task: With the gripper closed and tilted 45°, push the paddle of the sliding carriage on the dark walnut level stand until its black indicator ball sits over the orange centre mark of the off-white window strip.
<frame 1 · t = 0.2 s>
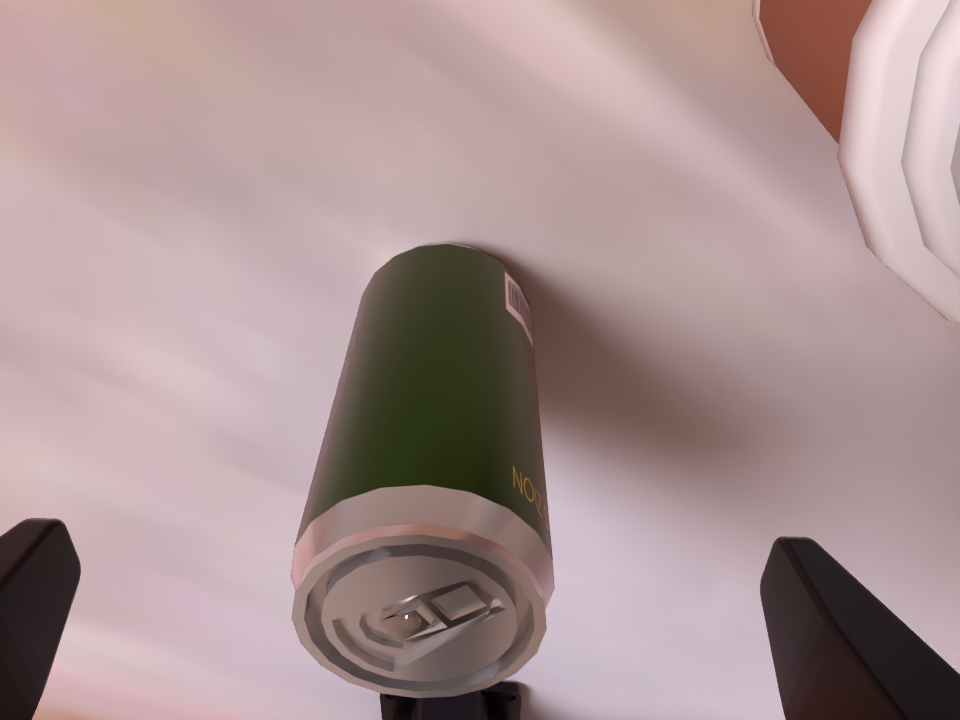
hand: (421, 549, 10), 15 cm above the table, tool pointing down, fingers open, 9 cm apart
beer can: (446, 306, 25), on the table
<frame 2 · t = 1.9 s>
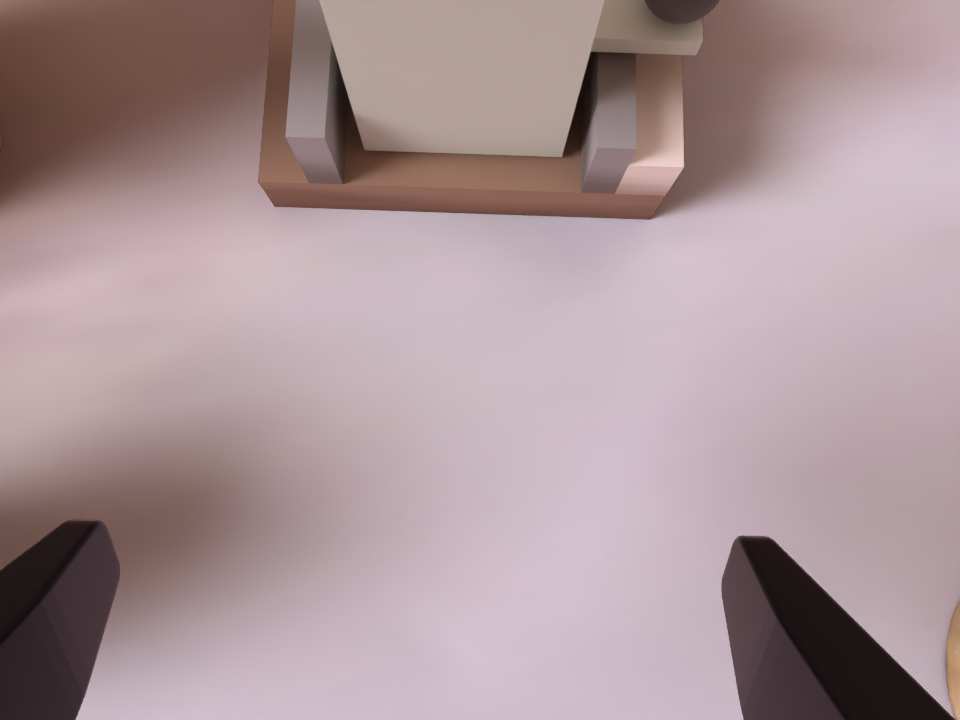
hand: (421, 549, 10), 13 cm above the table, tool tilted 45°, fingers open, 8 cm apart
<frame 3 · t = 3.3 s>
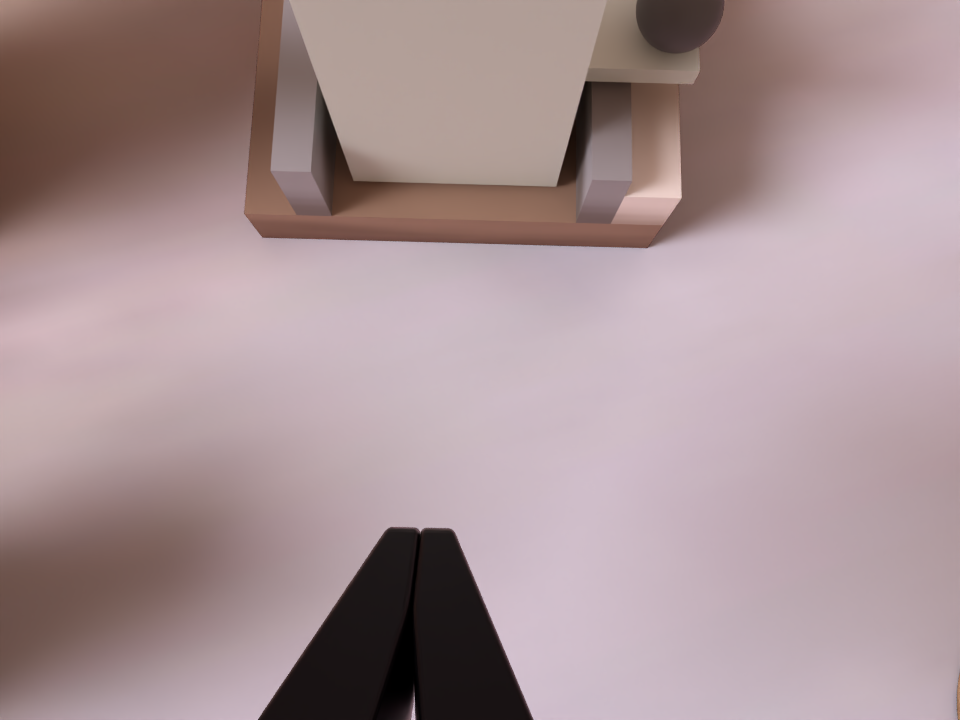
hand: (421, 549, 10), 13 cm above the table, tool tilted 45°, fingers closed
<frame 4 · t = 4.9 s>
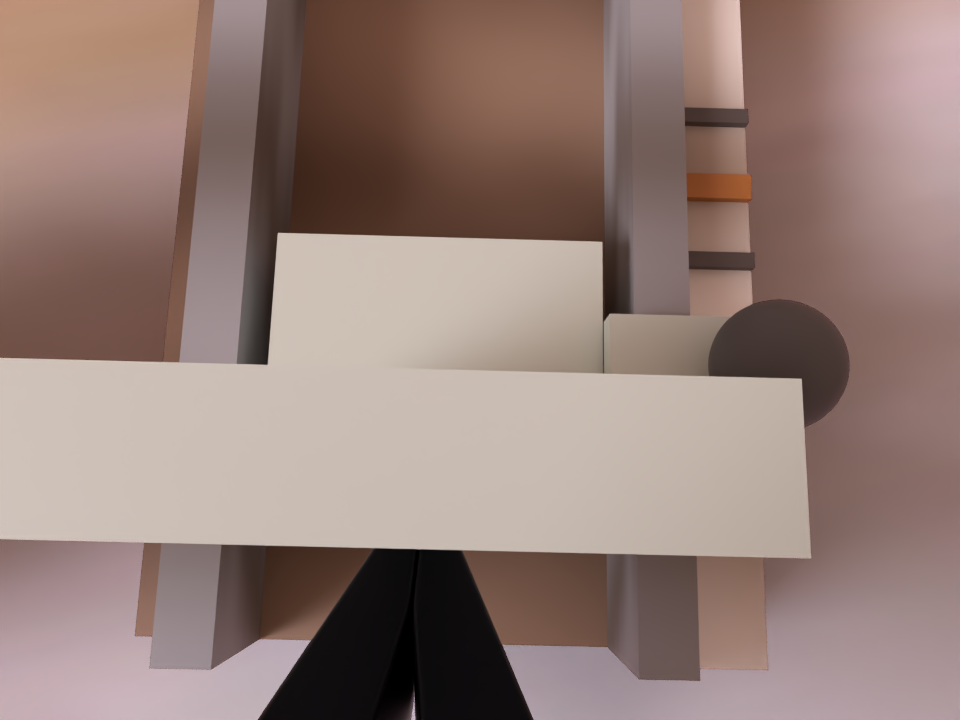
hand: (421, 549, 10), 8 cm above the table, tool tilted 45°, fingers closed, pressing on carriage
level stand: (450, 248, 19), on the table
carriage: (546, 348, 11), point 8 cm above the table, slide at 1.4 cm, touching gripper
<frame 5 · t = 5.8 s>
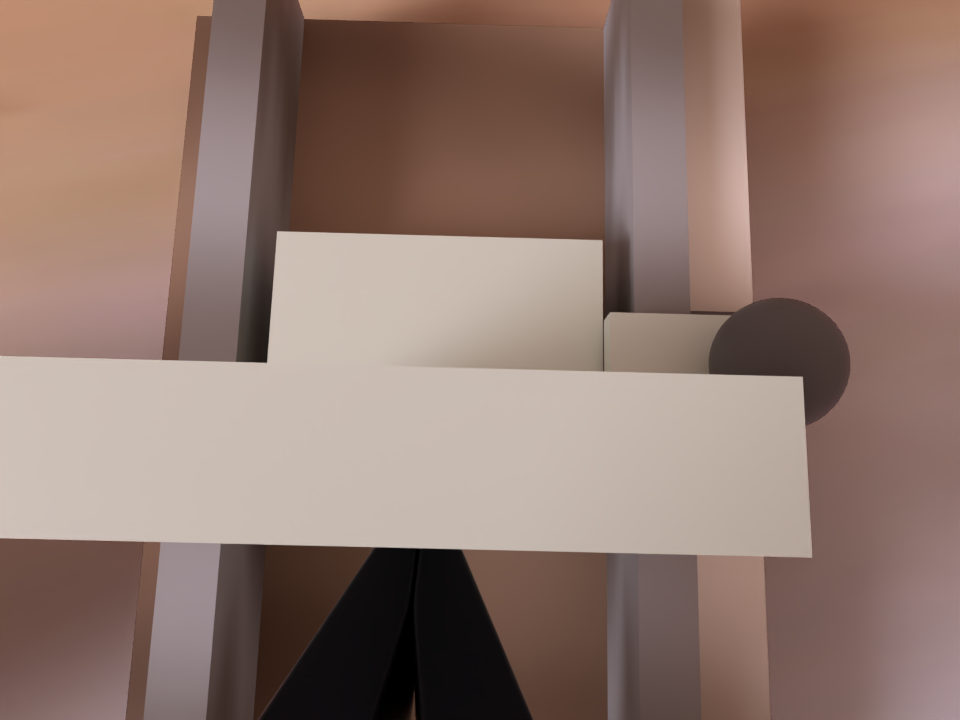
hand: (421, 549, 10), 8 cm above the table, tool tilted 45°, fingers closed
level stand: (444, 416, 18), on the table
carriage: (546, 347, 11), point 8 cm above the table, slide at 5.6 cm
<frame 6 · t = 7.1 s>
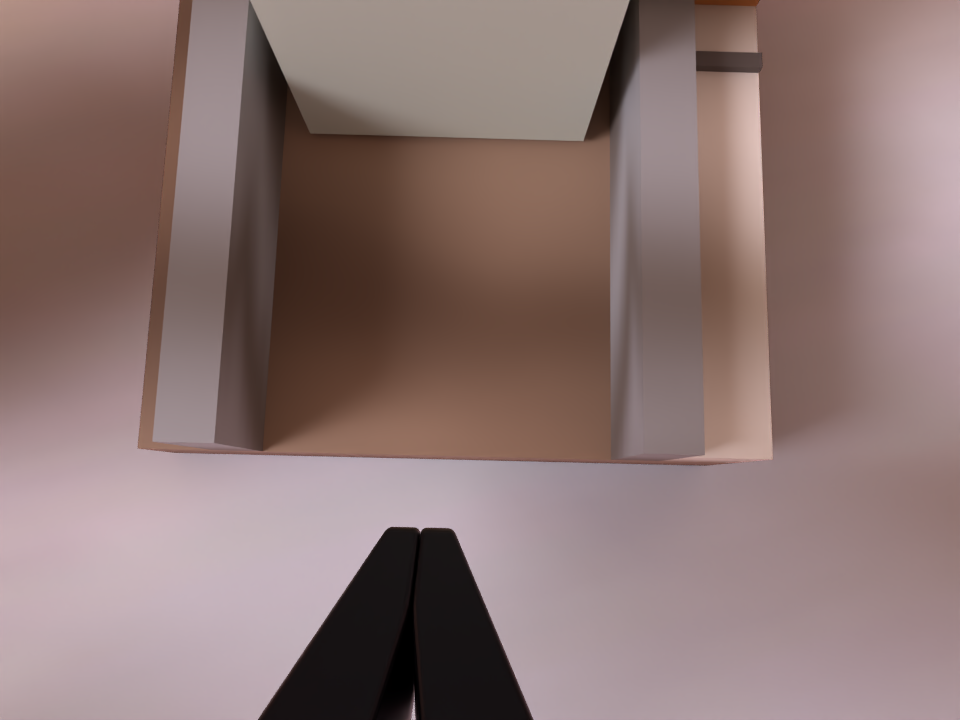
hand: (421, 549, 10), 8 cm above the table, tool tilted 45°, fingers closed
level stand: (452, 89, 19), on the table
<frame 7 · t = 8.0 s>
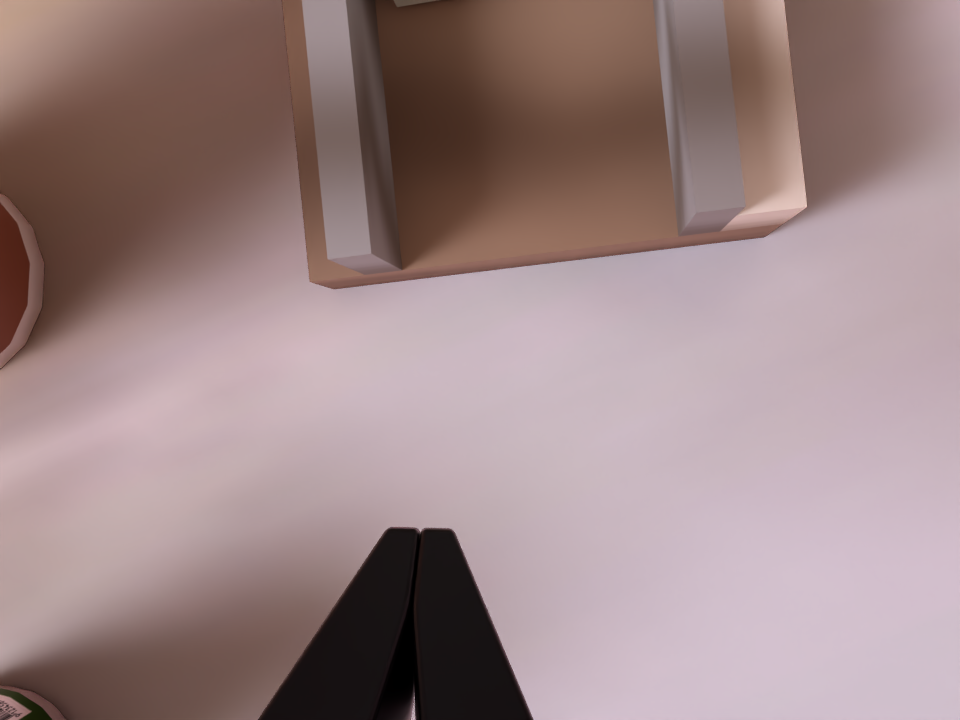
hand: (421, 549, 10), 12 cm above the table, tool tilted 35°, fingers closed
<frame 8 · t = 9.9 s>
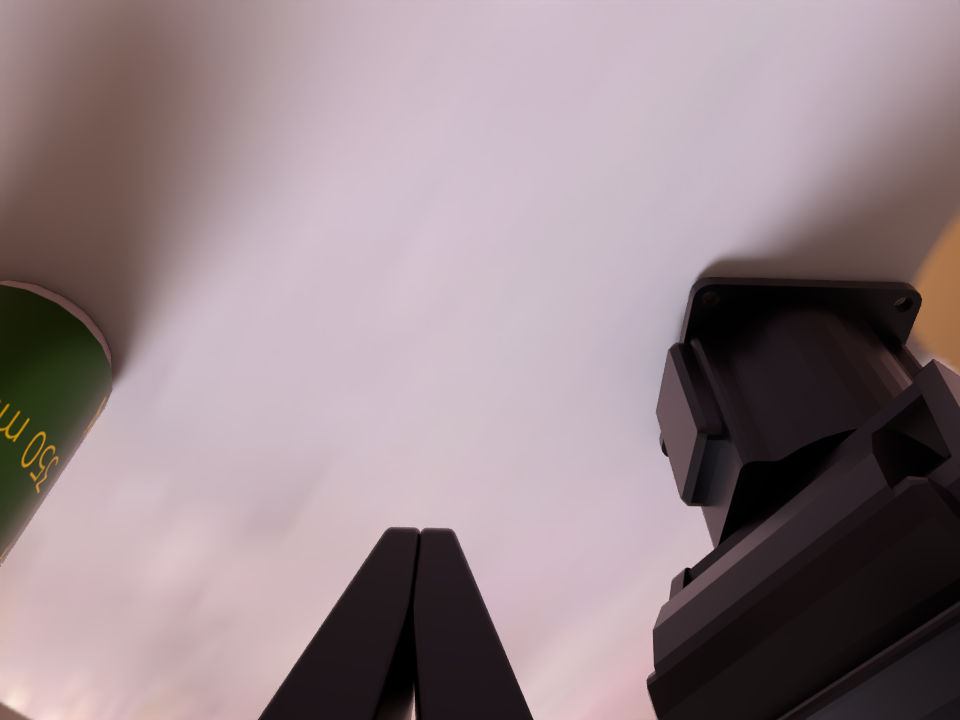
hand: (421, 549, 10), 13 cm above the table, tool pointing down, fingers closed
beer can: (35, 344, 24), on the table
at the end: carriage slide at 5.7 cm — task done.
